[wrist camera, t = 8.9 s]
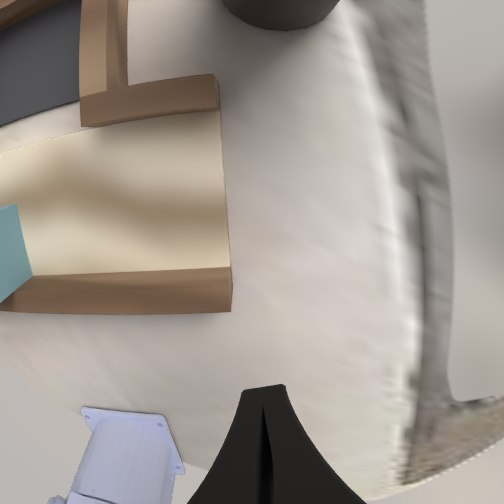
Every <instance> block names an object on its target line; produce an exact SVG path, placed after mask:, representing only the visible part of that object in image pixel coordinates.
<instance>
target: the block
mask: <svg viewBox="0 0 504 504" xmlns="http://www.w3.org/2000/svg"><path fill="white" fill-rule="evenodd" d="M32 276H33V273H32V270H31V266H30V263H29V259H28V255H27V251H26V247H25V242H24V238H23V234H22V229H21V224H20V219H19V214H18V209H17V204H12V205H7V206H2V207H0V303H1V302H2V301H3V300H4V299H5V298H7V297H8V296H9V295H10V294H11V293H12V292H14V291H15V290H16V289H17V288H18V287H20V286H21V285H22V284H23V283H24V282H26V281H27V280H28V279H29V278H31V277H32Z"/></svg>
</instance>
